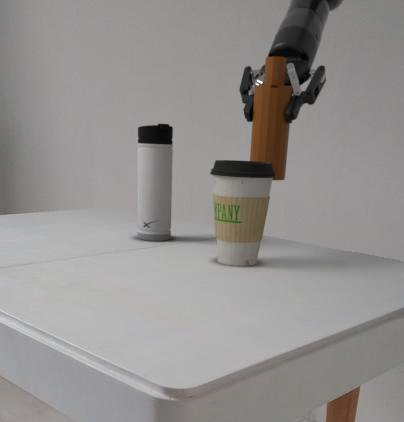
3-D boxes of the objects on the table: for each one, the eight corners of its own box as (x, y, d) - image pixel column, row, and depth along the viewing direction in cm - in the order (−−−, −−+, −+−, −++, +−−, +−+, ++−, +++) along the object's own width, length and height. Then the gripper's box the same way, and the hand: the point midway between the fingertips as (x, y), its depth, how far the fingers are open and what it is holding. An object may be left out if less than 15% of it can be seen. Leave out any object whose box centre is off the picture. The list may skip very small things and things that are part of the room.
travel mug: (148, 242, 102) (149, 122, 95) (131, 236, 107) (131, 122, 100) (177, 240, 105) (180, 124, 98) (160, 234, 110) (162, 124, 103)
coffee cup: (207, 254, 94) (211, 159, 89) (266, 257, 94) (273, 161, 88) (205, 266, 85) (209, 161, 80) (270, 269, 85) (279, 164, 79)
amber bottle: (283, 178, 97) (294, 60, 90) (285, 180, 91) (296, 56, 85) (248, 176, 97) (256, 59, 91) (248, 179, 92) (256, 54, 85)
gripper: (339, 64, 96) (314, 138, 90) (259, 65, 101) (231, 134, 95) (336, 22, 89) (309, 99, 84) (251, 25, 95) (220, 98, 89)
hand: (267, 118), depth 90 cm, fingers closed on amber bottle, 6 cm apart
